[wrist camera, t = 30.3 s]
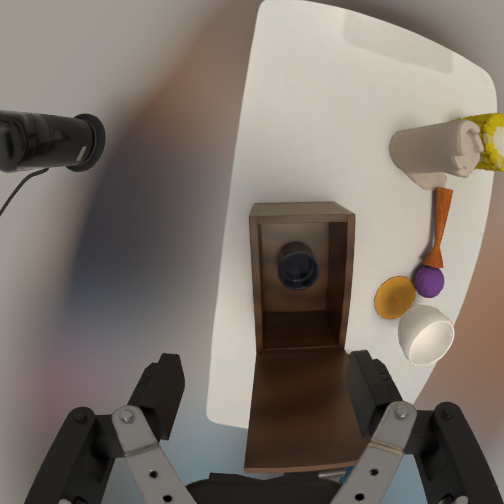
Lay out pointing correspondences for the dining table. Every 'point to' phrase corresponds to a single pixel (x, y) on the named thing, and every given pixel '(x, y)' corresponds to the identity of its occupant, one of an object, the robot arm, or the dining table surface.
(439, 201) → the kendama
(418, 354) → the cup
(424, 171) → the candle
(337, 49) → the dining table surface
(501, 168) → the food
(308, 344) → the chest
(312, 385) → the lid
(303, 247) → the bowl
